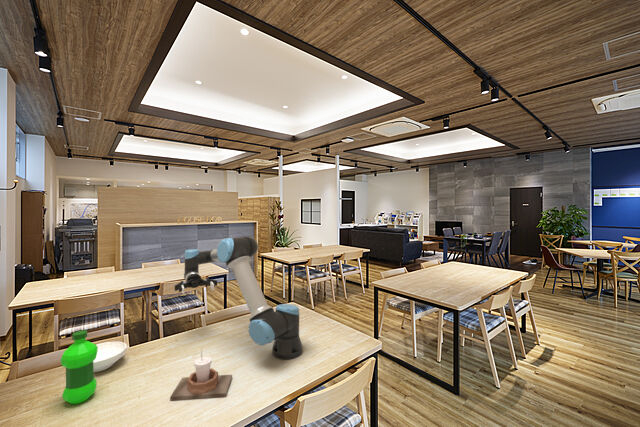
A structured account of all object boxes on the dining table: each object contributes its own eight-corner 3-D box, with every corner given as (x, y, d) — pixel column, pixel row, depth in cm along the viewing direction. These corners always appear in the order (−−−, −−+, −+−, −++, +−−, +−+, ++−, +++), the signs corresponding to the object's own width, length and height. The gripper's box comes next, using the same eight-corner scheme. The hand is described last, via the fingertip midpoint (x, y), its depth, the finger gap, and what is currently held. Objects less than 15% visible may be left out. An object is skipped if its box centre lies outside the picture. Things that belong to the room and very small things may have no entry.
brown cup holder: (232, 378, 118) (232, 366, 118) (225, 397, 106) (225, 383, 106) (182, 381, 116) (182, 369, 115) (170, 400, 104) (170, 387, 104)
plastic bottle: (73, 412, 98) (73, 340, 97) (55, 404, 101) (54, 336, 101) (104, 394, 107) (103, 329, 107) (86, 388, 111) (85, 325, 110)
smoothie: (197, 380, 114) (197, 346, 114) (213, 379, 114) (213, 345, 114) (191, 390, 107) (191, 354, 107) (208, 389, 108) (208, 353, 108)
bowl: (64, 385, 112) (64, 368, 112) (79, 362, 130) (78, 346, 130) (123, 372, 121) (123, 356, 121) (129, 352, 139) (129, 338, 139)
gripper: (217, 283, 162) (224, 292, 144) (168, 289, 150) (170, 300, 131) (217, 270, 162) (224, 278, 144) (168, 275, 149) (170, 284, 131)
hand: (198, 289), depth 138 cm, fingers open, 13 cm apart
